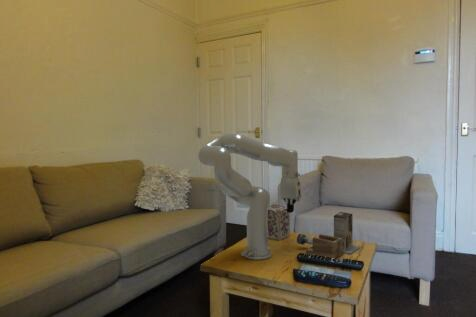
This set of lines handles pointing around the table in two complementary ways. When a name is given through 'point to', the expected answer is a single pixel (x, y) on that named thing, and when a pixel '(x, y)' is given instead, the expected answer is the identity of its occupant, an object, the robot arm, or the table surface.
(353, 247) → the spacer mat
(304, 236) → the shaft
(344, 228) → the coffee box
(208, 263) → the table surface
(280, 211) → the decorative jar
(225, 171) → the robot arm
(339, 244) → the brown open box
